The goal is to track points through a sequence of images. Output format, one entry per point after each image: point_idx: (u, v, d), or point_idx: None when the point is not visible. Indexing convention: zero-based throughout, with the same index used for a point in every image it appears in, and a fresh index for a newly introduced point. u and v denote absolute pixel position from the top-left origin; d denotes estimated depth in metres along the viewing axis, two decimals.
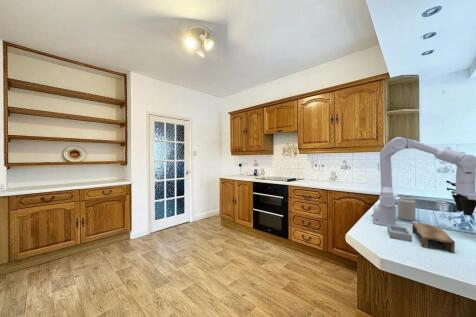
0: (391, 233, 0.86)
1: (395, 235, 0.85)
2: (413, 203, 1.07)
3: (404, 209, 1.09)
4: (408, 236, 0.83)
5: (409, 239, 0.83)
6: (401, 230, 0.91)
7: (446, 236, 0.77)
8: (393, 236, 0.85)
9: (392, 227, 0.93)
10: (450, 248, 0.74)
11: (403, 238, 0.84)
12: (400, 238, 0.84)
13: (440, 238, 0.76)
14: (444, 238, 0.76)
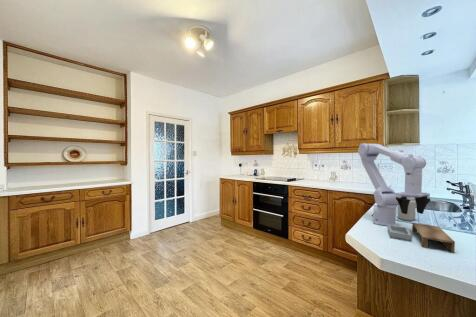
0: (391, 233, 0.86)
1: (395, 235, 0.85)
2: (413, 203, 1.07)
3: None
4: (408, 236, 0.83)
5: (409, 239, 0.83)
6: (401, 230, 0.91)
7: (446, 236, 0.77)
8: (393, 236, 0.85)
9: (392, 227, 0.93)
10: (450, 248, 0.74)
11: (403, 238, 0.84)
12: (400, 238, 0.84)
13: (440, 238, 0.76)
14: (444, 238, 0.76)
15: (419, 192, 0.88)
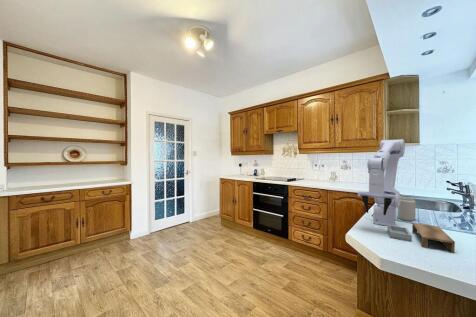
0: (391, 233, 0.86)
1: (395, 235, 0.85)
2: (413, 203, 1.07)
3: (404, 209, 1.09)
4: (408, 236, 0.83)
5: (409, 239, 0.83)
6: (401, 230, 0.91)
7: (446, 236, 0.77)
8: (393, 236, 0.85)
9: (392, 227, 0.93)
10: (450, 248, 0.74)
11: (403, 238, 0.84)
12: (400, 238, 0.84)
13: (440, 238, 0.76)
14: (444, 238, 0.76)
15: (377, 192, 0.90)
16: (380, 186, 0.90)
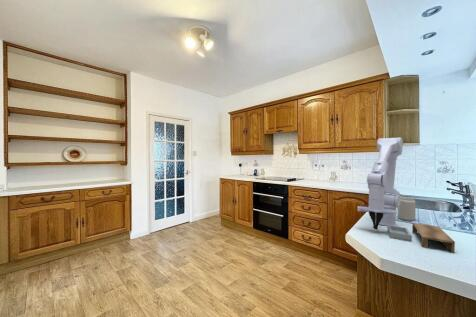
0: (391, 233, 0.86)
1: (395, 235, 0.85)
2: (413, 203, 1.07)
3: (404, 209, 1.09)
4: (408, 236, 0.83)
5: (409, 239, 0.83)
6: (401, 230, 0.91)
7: (446, 236, 0.77)
8: (393, 236, 0.85)
9: (392, 227, 0.93)
10: (450, 248, 0.74)
11: (403, 238, 0.84)
12: (400, 238, 0.84)
13: (440, 238, 0.76)
14: (444, 238, 0.76)
15: (377, 208, 0.90)
16: (380, 202, 0.90)
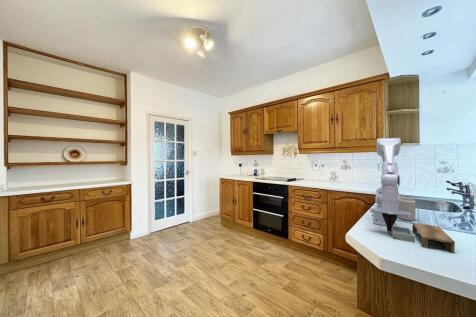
0: (394, 233, 0.85)
1: (398, 235, 0.85)
2: (413, 203, 1.07)
3: (404, 209, 1.09)
4: (411, 237, 0.82)
5: (412, 240, 0.82)
6: (404, 230, 0.91)
7: (446, 236, 0.77)
8: (396, 236, 0.85)
9: (395, 227, 0.92)
10: (450, 248, 0.74)
11: (406, 239, 0.83)
12: (403, 239, 0.84)
13: (440, 238, 0.76)
14: (444, 238, 0.76)
15: (391, 210, 0.88)
16: (394, 203, 0.87)
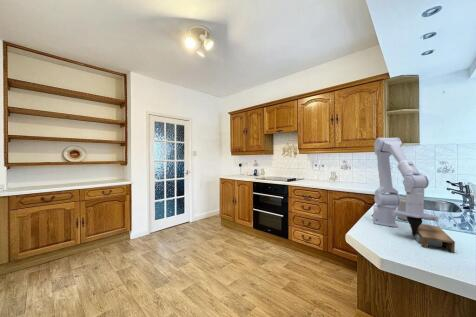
0: (419, 238, 0.81)
1: None
2: None
3: (404, 209, 1.09)
4: (438, 241, 0.78)
5: (439, 244, 0.78)
6: None
7: (446, 236, 0.77)
8: None
9: None
10: (450, 248, 0.74)
11: (433, 243, 0.79)
12: (429, 243, 0.80)
13: (440, 238, 0.76)
14: (444, 238, 0.76)
15: (416, 213, 0.83)
16: (420, 206, 0.83)
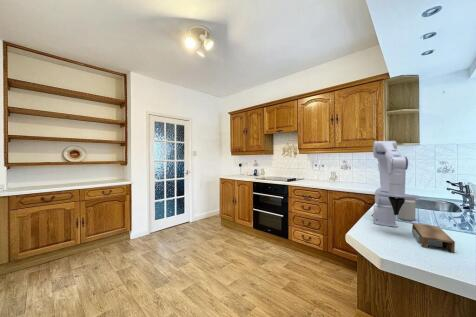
0: (419, 238, 0.81)
1: None
2: (413, 203, 1.07)
3: (404, 209, 1.09)
4: (438, 241, 0.78)
5: (439, 244, 0.78)
6: None
7: (446, 236, 0.77)
8: None
9: None
10: (450, 248, 0.74)
11: (433, 243, 0.79)
12: (429, 243, 0.80)
13: (440, 238, 0.76)
14: (444, 238, 0.76)
15: (398, 193, 0.87)
16: (401, 186, 0.86)
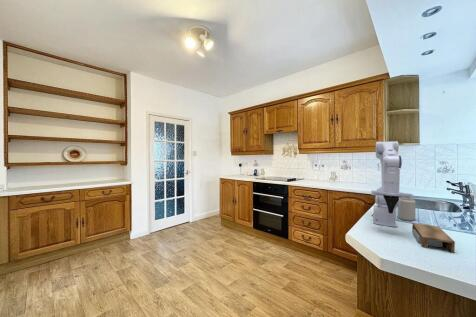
0: (419, 238, 0.81)
1: None
2: (413, 203, 1.07)
3: (404, 209, 1.09)
4: (438, 241, 0.78)
5: (439, 244, 0.78)
6: None
7: (446, 236, 0.77)
8: None
9: None
10: (450, 248, 0.74)
11: (433, 243, 0.79)
12: (429, 243, 0.80)
13: (440, 238, 0.76)
14: (444, 238, 0.76)
15: (392, 191, 0.88)
16: (395, 185, 0.88)
